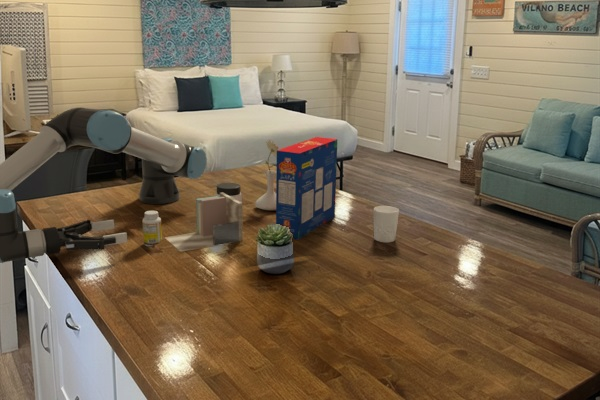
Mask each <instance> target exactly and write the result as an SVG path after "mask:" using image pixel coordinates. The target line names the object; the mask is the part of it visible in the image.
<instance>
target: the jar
mask: <svg viewBox="0 0 600 400" xmlns="http://www.w3.org/2000/svg"><path fill="white" fill-rule="evenodd" d="M221 192H223V193H225V194H227V195H229V196H230V197H232V198H234V199H236V200H238V201H239V202H241V203H242V204H243V201H242V200H243V197H242V196H243V194H242V192H241V184H239V183H235V182H223V183H219V184H217V185H216V193H215V196H220V193H221Z"/></svg>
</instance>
